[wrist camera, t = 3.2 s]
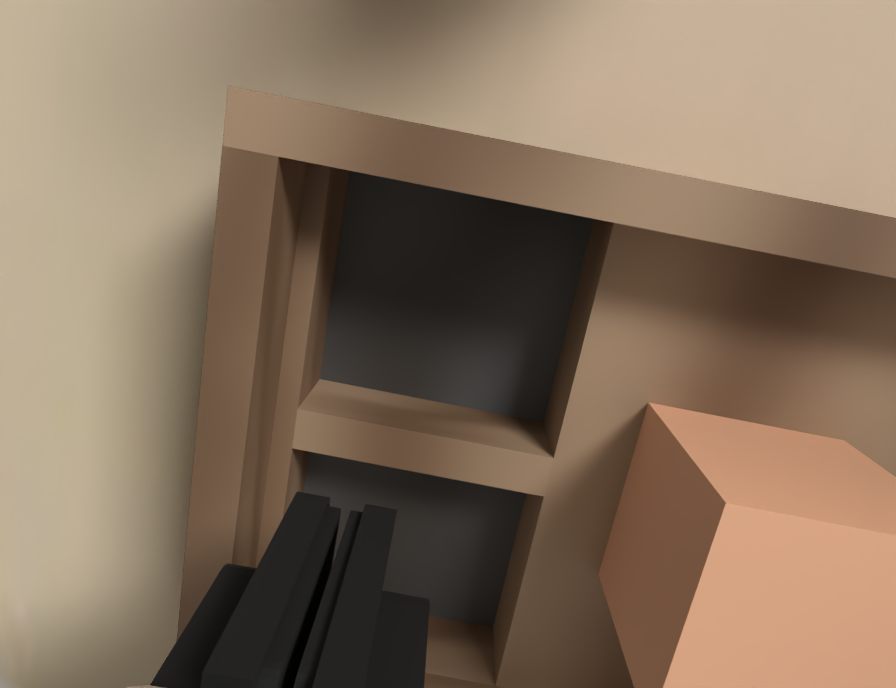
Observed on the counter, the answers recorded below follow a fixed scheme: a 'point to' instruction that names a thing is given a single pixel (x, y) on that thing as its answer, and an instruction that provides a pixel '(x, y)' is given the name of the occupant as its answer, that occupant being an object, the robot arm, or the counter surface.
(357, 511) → the robot arm
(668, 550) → the block
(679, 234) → the box
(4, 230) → the counter surface
